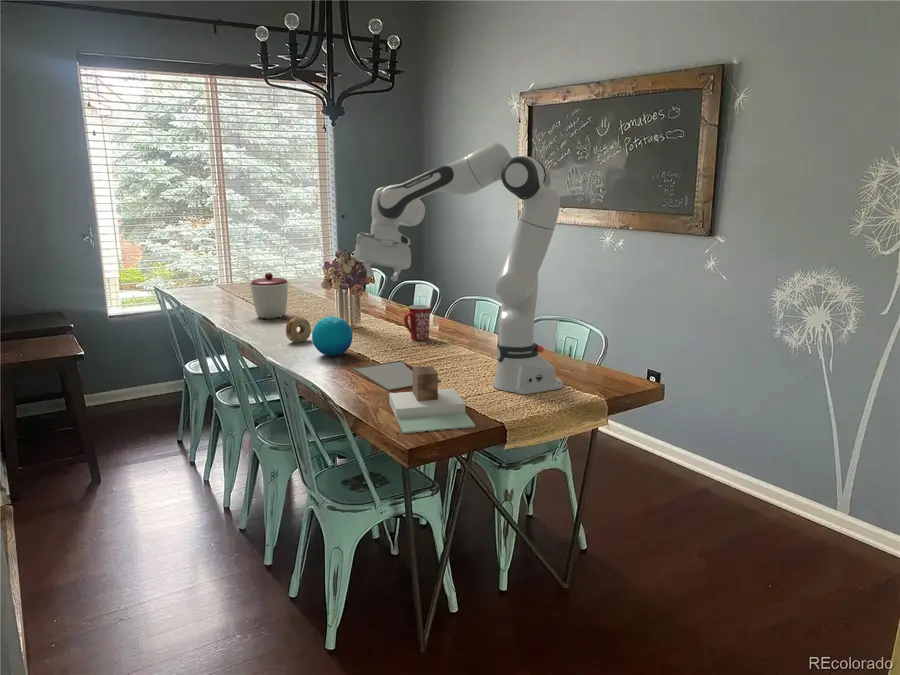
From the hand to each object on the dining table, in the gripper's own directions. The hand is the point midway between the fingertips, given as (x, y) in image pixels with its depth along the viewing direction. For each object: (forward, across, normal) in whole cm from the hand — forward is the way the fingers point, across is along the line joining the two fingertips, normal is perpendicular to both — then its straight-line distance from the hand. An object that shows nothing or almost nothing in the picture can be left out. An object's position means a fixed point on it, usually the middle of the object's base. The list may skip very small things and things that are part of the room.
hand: (382, 278), depth 220 cm
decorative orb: (+23, +8, +42) cm, 49 cm away
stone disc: (+17, +7, +68) cm, 71 cm away
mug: (+14, +46, +40) cm, 63 cm away
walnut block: (+38, +2, -22) cm, 44 cm away
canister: (+1, +18, +117) cm, 119 cm away
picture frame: (+31, +12, +8) cm, 35 cm away
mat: (+45, -4, -34) cm, 57 cm away
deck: (+41, +2, -23) cm, 47 cm away
